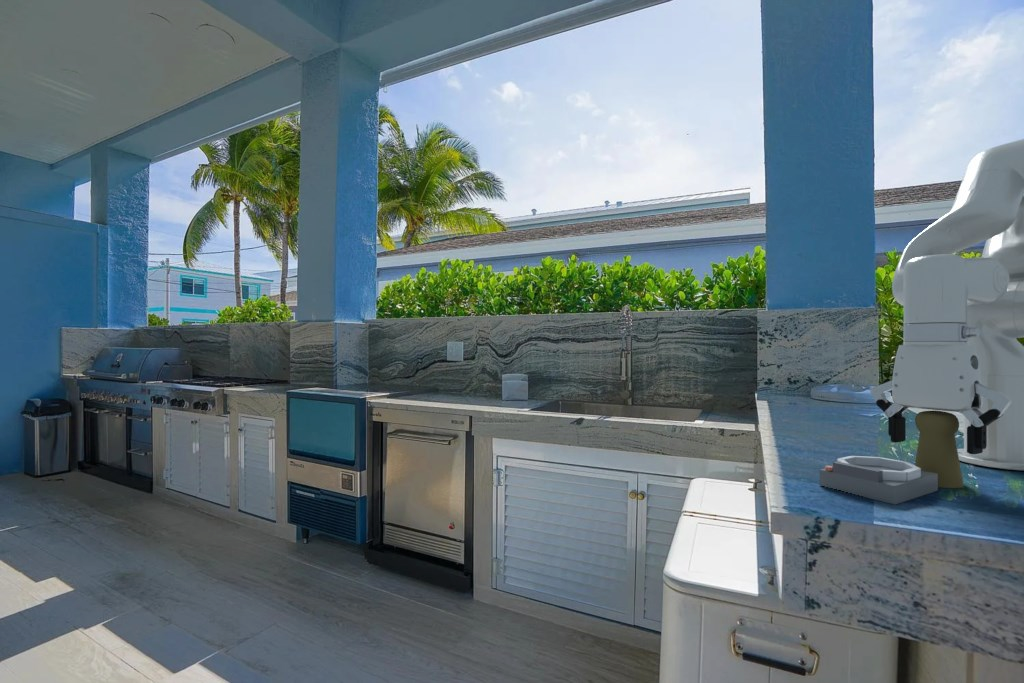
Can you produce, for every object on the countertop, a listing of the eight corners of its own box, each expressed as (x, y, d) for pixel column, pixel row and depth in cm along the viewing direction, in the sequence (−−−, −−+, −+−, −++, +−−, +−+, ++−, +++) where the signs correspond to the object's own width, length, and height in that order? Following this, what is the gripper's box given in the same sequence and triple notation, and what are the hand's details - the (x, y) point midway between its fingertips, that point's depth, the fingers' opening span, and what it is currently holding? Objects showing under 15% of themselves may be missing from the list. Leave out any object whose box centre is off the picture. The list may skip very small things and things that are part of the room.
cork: (974, 488, 73) (973, 414, 73) (927, 487, 74) (926, 414, 74) (947, 477, 79) (946, 408, 79) (904, 476, 80) (903, 408, 80)
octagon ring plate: (863, 474, 81) (862, 450, 81) (937, 490, 72) (937, 463, 72) (819, 485, 76) (819, 459, 76) (895, 504, 67) (894, 475, 67)
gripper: (1021, 335, 70) (1021, 456, 70) (883, 337, 86) (883, 436, 85) (998, 334, 67) (999, 461, 67) (859, 336, 82) (859, 439, 82)
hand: (934, 447), depth 76 cm, fingers open, 9 cm apart
